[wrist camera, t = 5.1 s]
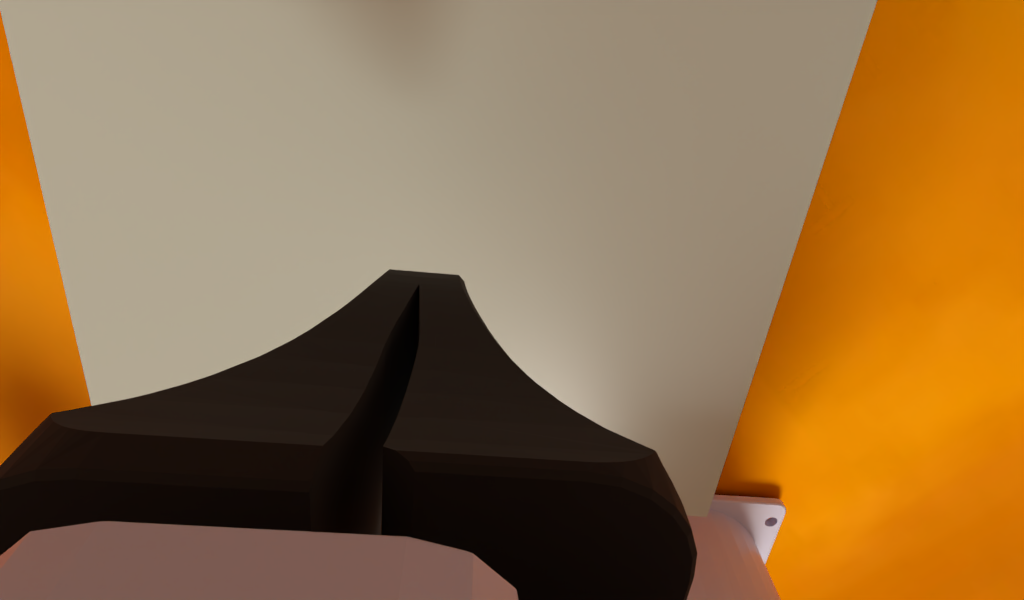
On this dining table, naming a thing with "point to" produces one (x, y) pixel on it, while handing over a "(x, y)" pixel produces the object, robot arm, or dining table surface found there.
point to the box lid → (440, 183)
